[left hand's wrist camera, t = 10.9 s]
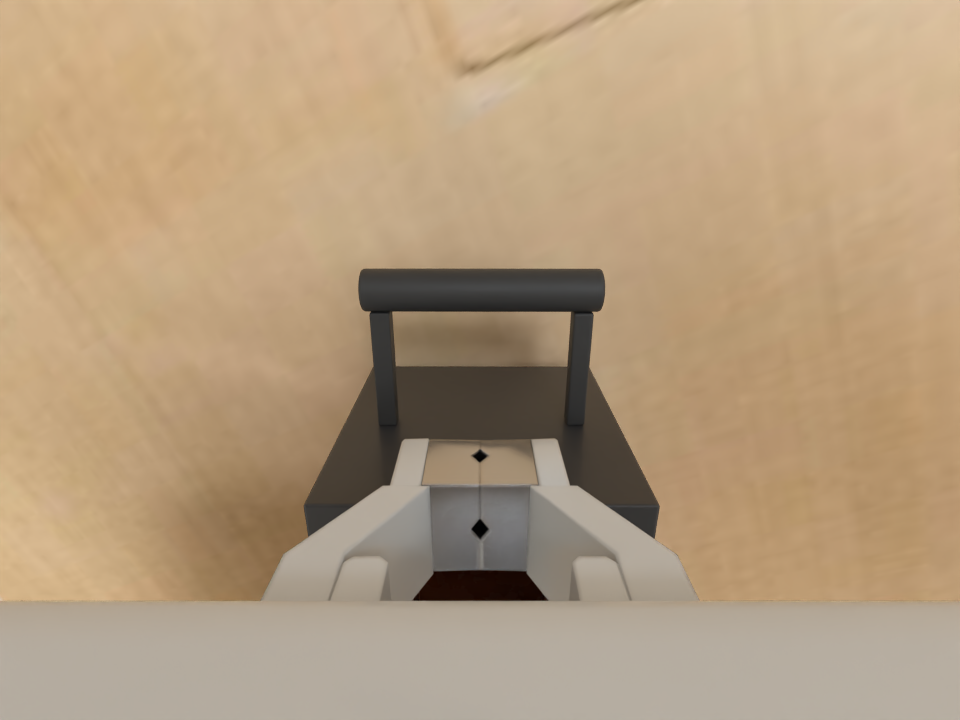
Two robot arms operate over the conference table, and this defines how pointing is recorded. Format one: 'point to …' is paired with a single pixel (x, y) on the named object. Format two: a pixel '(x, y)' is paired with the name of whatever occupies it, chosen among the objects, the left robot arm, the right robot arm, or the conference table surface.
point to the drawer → (482, 406)
